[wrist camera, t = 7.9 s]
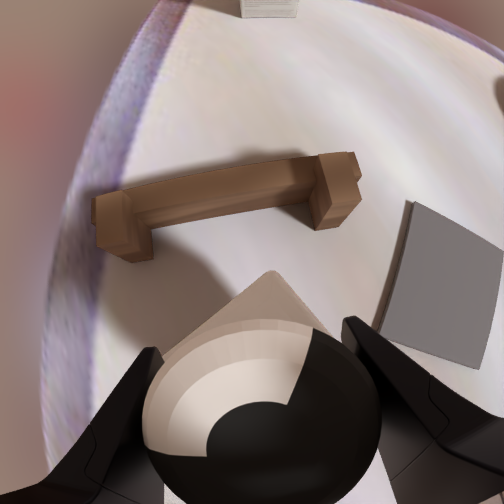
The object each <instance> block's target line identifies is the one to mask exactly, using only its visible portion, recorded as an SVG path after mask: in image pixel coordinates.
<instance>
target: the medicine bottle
mask: <svg viewBox="0 0 504 504" xmlns="http://www.w3.org/2000/svg"><path fill="white" fill-rule="evenodd" d="M162 358H163V360H164V362H165V363H164V364H163V365H162V367H161V368H160V369H159V371H158V372H157V373H156V375H155V377H154V379H153V381H152V383H151V385H150V387H149V389H148V392H147V395H146V398H145V401H144V407H143V414H142V432H143V438H144V444H145V447H146V451H147V454H148V457H149V459H150V461H151V463H152V465H153V467H154V469H155V471H156V472H157V474H158V475H159V477H160V478H161V479H162V481H163V482H164V483H165V484H166V486H167V487H168V488H169V489H170V490H171V491H172V492H173V493H174V494H175V495H176V496H178V497H179V498H180V499H181V500H183V501H184V502H185V503H186V504H335V503H336V502H337V501H339V500H340V499H342V498H343V497H344V496H345V495H346V494H347V493H348V492H349V491H351V490H352V489H353V488H354V487H355V485H356V484H357V483H358V482H359V481H360V479H361V478H362V477H363V476H364V474H365V473H366V471H367V469H368V468H369V466H370V464H371V462H372V460H373V458H374V456H375V453H376V451H377V448H378V444H379V440H380V437H381V428H382V409H381V403H380V399H379V394H378V391H377V389H376V386H375V384H374V381H373V379H372V377H371V376H370V374H369V372H368V371H367V369H366V367H365V366H364V365H363V364H362V362H361V361H360V360H359V359H358V358H357V356H356V355H355V354H354V353H353V352H351V351H350V350H349V349H348V348H347V347H346V346H345V345H343V344H342V343H341V342H339V341H337V340H336V339H334V337H333V336H332V335H331V334H330V333H329V332H328V330H327V329H326V328H325V327H324V326H323V324H322V323H321V322H320V321H319V320H318V319H317V317H316V316H315V315H314V314H313V313H312V312H311V310H310V309H309V308H308V307H307V306H306V304H305V303H304V302H303V301H302V300H301V299H300V297H299V296H298V295H297V294H296V293H295V292H294V290H293V289H292V288H291V287H290V286H289V285H288V283H287V282H286V281H285V280H284V279H283V278H282V276H281V275H280V274H279V273H277V272H276V271H268V272H266V273H265V274H263V275H262V276H261V277H260V278H258V279H257V280H256V281H255V282H254V283H252V284H251V285H250V286H249V287H248V288H246V289H245V290H244V291H243V292H241V293H240V294H239V295H238V296H237V297H235V298H234V299H233V300H232V301H230V302H229V303H228V304H227V305H225V306H224V307H223V308H222V309H221V310H219V311H218V312H217V313H216V314H214V315H213V316H212V317H211V318H209V319H208V320H207V321H206V322H204V323H203V324H202V325H201V326H199V327H198V328H197V329H196V330H194V331H193V332H192V333H191V334H189V335H188V336H187V337H186V338H184V339H183V340H182V341H181V342H179V343H178V344H177V345H175V346H174V347H173V348H172V349H170V350H169V351H168V352H167V353H165V354H164V355H163V356H162Z"/></svg>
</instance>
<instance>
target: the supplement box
mask: <svg viewBox="0 0 504 504" xmlns="http://www.w3.org/2000/svg"><path fill="white" fill-rule="evenodd" d="M239 1H240V11H241V17H242V18H255V17H283V18H296V17H297V12H298V3H299V0H239Z"/></svg>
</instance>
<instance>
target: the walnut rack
mask: <svg viewBox="0 0 504 504" xmlns="http://www.w3.org/2000/svg"><path fill="white" fill-rule="evenodd" d="M361 176H362V174H361V171H360V168H359V165H358V162H357V159H356V156H355V153H354V152H336V153H326V154H318V155H317V156H308V157H300V158H292V159H284V160H277V161H270V162H263V163H256V164H250V165H244V166H238V167H232V168H226V169H220V170H215V171H209V172H204V173H199V174H194V175H189V176H184V177H179V178H174V179H170V180H165V181H161V182H156V183H152V184H147V185H143V186H139V187H135V188H131V189H127V190H123V191H122V190H118V191H115V192H111V193H107V194H103V195H100V196H96V198H93V199H92V205H91V223H92V224H93V225H95V226H96V246H97V247H99V248H101V249H103V250H105V251H107V252H109V253H111V254H113V255H116V256H118V257H120V258H122V259H124V260H126V261H128V262H130V263H134V262H139V261H145V260H150V259H154V258H153V247H152V236H151V229H155V228H160V227H165V226H170V225H175V224H181V223H186V222H191V221H196V220H202V219H207V218H213V217H218V216H224V215H230V214H235V213H241V212H247V211H253V210H259V209H265V208H271V207H277V206H284V205H290V204H297V203H303V202H308V204H309V208H310V212H311V216H312V221H313V225H314V229H315V231H317V230H323V229H329V228H336V227H339V226H340V225H341V223H342V222H343V221H344V220H345V219H346V218H347V216H348V215H349V214H350V213H351V212H352V211H353V209H354V208H355V207H356V206H357V205H358V204H359V202H360V201H361V200H362V198H361V195H360V192H359V188H358V185H357V182H358V181H359V179H360V178H361Z"/></svg>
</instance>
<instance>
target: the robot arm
mask: <svg viewBox="0 0 504 504" xmlns="http://www.w3.org/2000/svg"><path fill="white" fill-rule="evenodd" d="M341 340H342V344H343V345H345V346H346V347H347V348H348V349H349V350H350V351H351V352H353V353H354V354H355V355H356V356H357V358H358V359H359V360H360V361H361V362H362V364H363V365H364V366H365V367H366V369H367V371H368V372H369V374H370V376H371V377H372V379H373V381H374V384H375V386H376V389H377V391H378V394H379V399H380V403H381V409H382V428H381V437H380V440H379V444H378V449H379V452H380V455H381V458H382V461H383V463H384V466H385V469H386V472H387V475H388V478H389V481H391V482H390V484H391V487H392V490H393V493H394V496H395V499H396V502H397V504H504V418H501V417H497V416H494V415H492V414H490V413H488V412H486V411H485V410H483V409H481V408H480V407H478V406H477V405H475V404H473V403H472V402H470V401H468V400H467V399H465V398H464V397H462V396H460V395H459V394H457V393H456V392H454V391H453V390H451V389H450V388H449V387H447V386H446V385H445V384H443V383H442V382H440V381H439V380H438V379H437V378H435V377H434V376H433V375H430V373H429V372H428V371H426V370H425V369H424V368H422V367H421V366H420V365H419V364H417V363H416V362H415V361H414V360H412V359H411V358H410V357H408V356H407V355H406V354H405V353H403V352H402V351H401V350H400V349H398V348H397V347H396V346H394V345H393V344H392V343H391V342H389V341H388V340H387V339H385V338H384V337H383V336H381V335H380V334H379V333H378V332H376V331H375V330H374V329H372V328H371V327H370V326H369V325H367V324H366V323H365V322H363V321H362V320H361V319H360V318H358V317H357V316H350V317H345V318H344V319H343V322H342V331H341ZM164 363H165V362H164V360H163V358H162V356H161V354H160V352H159V350H158V349H157V347H145V348H144V349H143V350H142V351H141V352H140V354H139V355H138V357H137V358H136V359H135V361H134V362H133V363H132V365H131V366H130V367H129V369H128V370H127V372H126V373H125V374H124V376H123V377H122V379H121V380H120V381H119V383H118V384H117V385H116V387H115V388H114V390H113V391H112V392H111V394H110V395H109V397H108V398H107V399H106V401H105V402H104V404H103V405H102V407H101V408H100V409H99V411H98V412H97V414H96V415H95V416H94V418H93V419H92V421H91V422H90V424H89V425H88V426H87V428H86V429H85V431H84V432H83V433H82V435H81V436H80V438H79V439H78V440H77V442H76V443H75V444H74V445H73V447H72V448H71V449H70V450H69V452H68V453H67V454H66V455H65V456H64V457H63V459H62V460H61V461H60V462H59V463H58V464H57V466H56V467H55V468H54V469H53V470H52V471H51V473H50V474H49V475H48V476H47V477H46V478H45V479H43V480H42V481H40V482H39V483H37V484H35V485H32V486H29V487H26V488H23V489H20V490H16V491H13V492H9V493H6V494H2V495H0V504H164V482H163V481H162V479H161V478H160V477H159V475H158V474H157V472H156V471H155V469H154V467H153V465H152V463H151V461H150V459H149V457H148V454H147V451H146V447H145V444H144V438H143V432H142V414H143V407H144V401H145V398H146V395H147V392H148V389H149V387H150V385H151V383H152V381H153V379H154V377H155V375H156V373H157V372H158V371H159V369H160V368H161V367H162V365H163V364H164Z"/></svg>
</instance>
